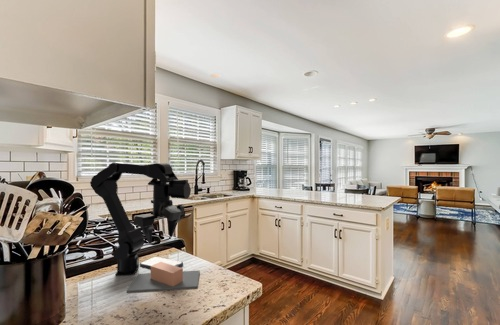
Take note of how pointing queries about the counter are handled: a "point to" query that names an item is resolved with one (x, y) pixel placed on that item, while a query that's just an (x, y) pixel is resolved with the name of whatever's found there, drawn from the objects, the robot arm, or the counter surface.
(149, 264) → the smartphone
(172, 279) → the block
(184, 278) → the mat
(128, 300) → the counter surface
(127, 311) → the counter surface
